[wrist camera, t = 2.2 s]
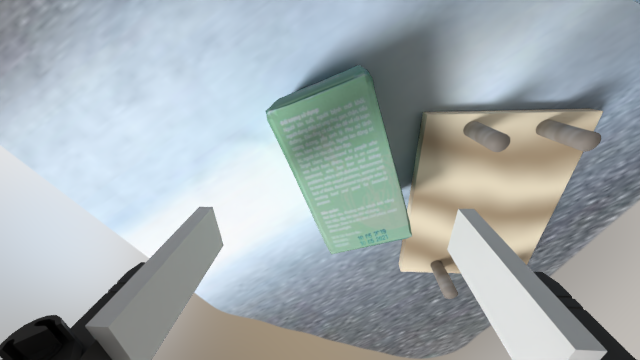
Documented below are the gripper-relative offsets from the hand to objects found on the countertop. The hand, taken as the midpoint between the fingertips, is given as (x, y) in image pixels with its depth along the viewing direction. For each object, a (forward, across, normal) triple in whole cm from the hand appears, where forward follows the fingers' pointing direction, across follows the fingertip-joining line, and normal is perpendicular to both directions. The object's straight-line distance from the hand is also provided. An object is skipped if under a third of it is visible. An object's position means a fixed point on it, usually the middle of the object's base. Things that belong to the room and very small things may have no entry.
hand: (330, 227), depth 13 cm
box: (+12, +1, 0) cm, 13 cm away
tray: (+12, +15, -6) cm, 20 cm away
